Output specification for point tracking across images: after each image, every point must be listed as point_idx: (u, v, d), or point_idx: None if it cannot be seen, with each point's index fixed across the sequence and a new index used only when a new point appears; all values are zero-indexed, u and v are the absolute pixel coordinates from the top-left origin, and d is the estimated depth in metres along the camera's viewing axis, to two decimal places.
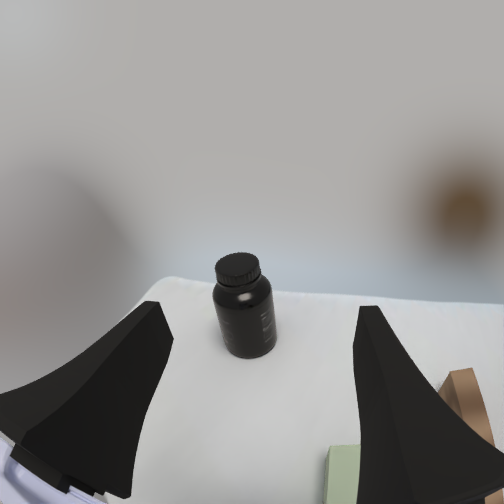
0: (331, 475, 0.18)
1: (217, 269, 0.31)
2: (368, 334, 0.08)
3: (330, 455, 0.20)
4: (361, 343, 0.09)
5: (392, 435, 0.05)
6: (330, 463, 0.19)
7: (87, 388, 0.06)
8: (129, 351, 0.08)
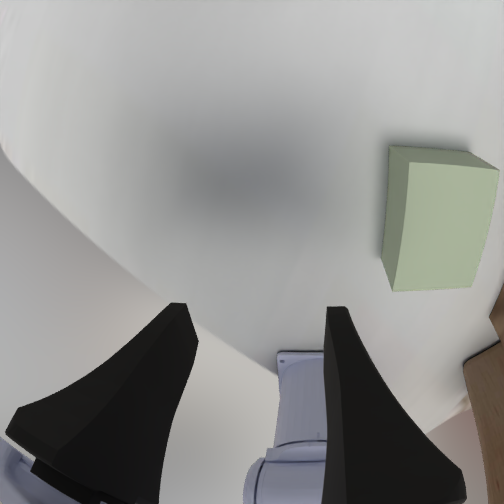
0: (408, 216, 0.14)
1: None
2: (330, 335, 0.08)
3: (409, 180, 0.13)
4: (327, 344, 0.09)
5: (341, 438, 0.05)
6: (408, 195, 0.13)
7: (119, 398, 0.06)
8: (158, 356, 0.08)
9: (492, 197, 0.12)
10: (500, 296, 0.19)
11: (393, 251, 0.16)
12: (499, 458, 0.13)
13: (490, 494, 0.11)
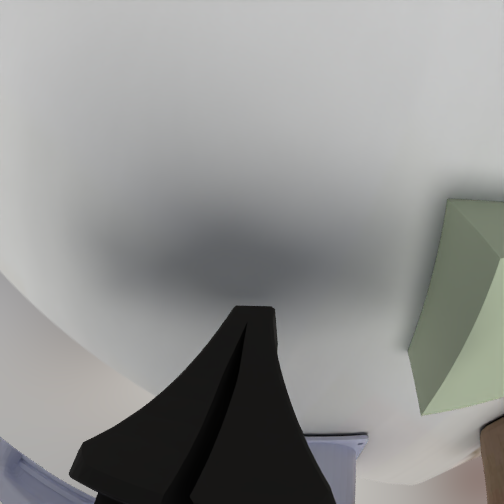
0: (473, 338, 0.07)
1: None
2: (246, 333, 0.08)
3: (491, 287, 0.06)
4: None
5: (224, 433, 0.05)
6: (483, 310, 0.06)
7: (209, 417, 0.06)
8: (236, 364, 0.08)
9: None
10: None
11: (432, 366, 0.09)
12: None
13: None
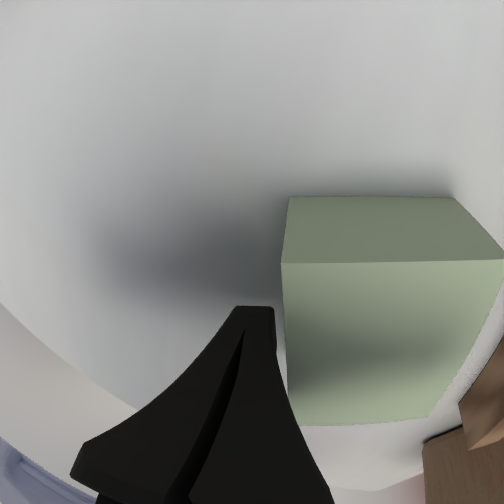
0: (294, 351, 0.08)
1: None
2: (245, 333, 0.08)
3: (286, 297, 0.07)
4: None
5: (222, 432, 0.05)
6: (288, 322, 0.07)
7: (210, 417, 0.06)
8: (237, 364, 0.08)
9: (485, 309, 0.06)
10: (475, 385, 0.13)
11: None
12: None
13: None
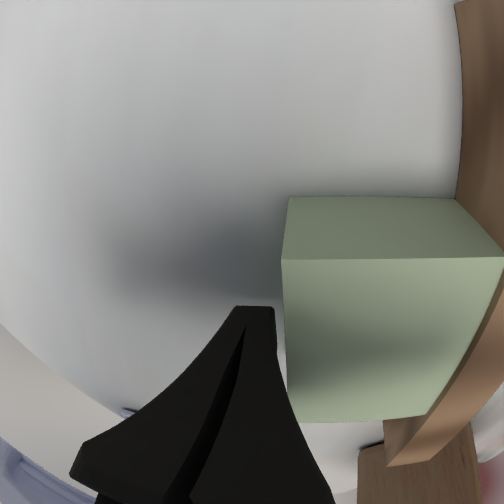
0: (294, 347, 0.08)
1: None
2: (245, 333, 0.08)
3: (286, 293, 0.07)
4: None
5: (223, 433, 0.05)
6: (288, 318, 0.07)
7: (209, 417, 0.06)
8: (236, 364, 0.08)
9: (482, 306, 0.06)
10: None
11: None
12: None
13: None
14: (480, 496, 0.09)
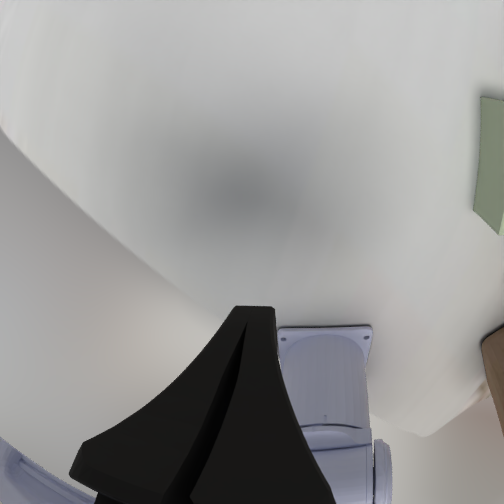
0: None
1: None
2: (246, 333, 0.08)
3: None
4: None
5: (224, 433, 0.05)
6: None
7: (209, 417, 0.06)
8: (236, 364, 0.08)
9: None
10: None
11: (496, 194, 0.13)
12: None
13: None
14: None
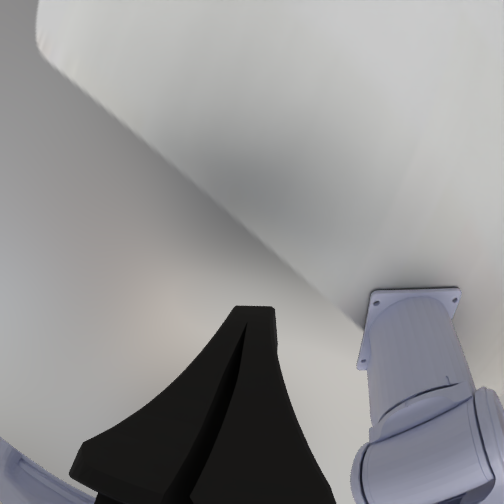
0: None
1: None
2: (246, 333, 0.08)
3: None
4: None
5: (224, 433, 0.05)
6: None
7: (209, 417, 0.06)
8: (236, 364, 0.08)
9: None
10: None
11: None
12: None
13: None
14: None
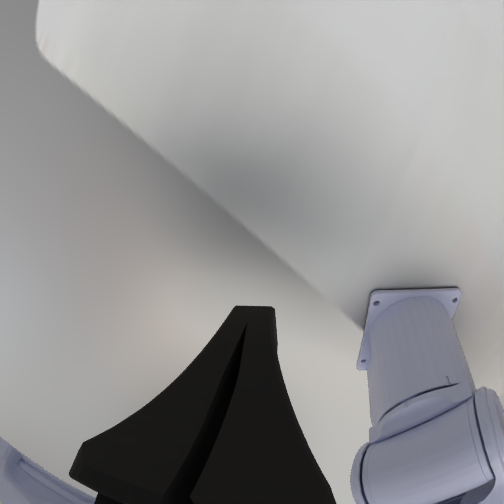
0: None
1: None
2: (246, 333, 0.08)
3: None
4: None
5: (224, 433, 0.05)
6: None
7: (209, 417, 0.06)
8: (236, 364, 0.08)
9: None
10: None
11: None
12: None
13: None
14: None
